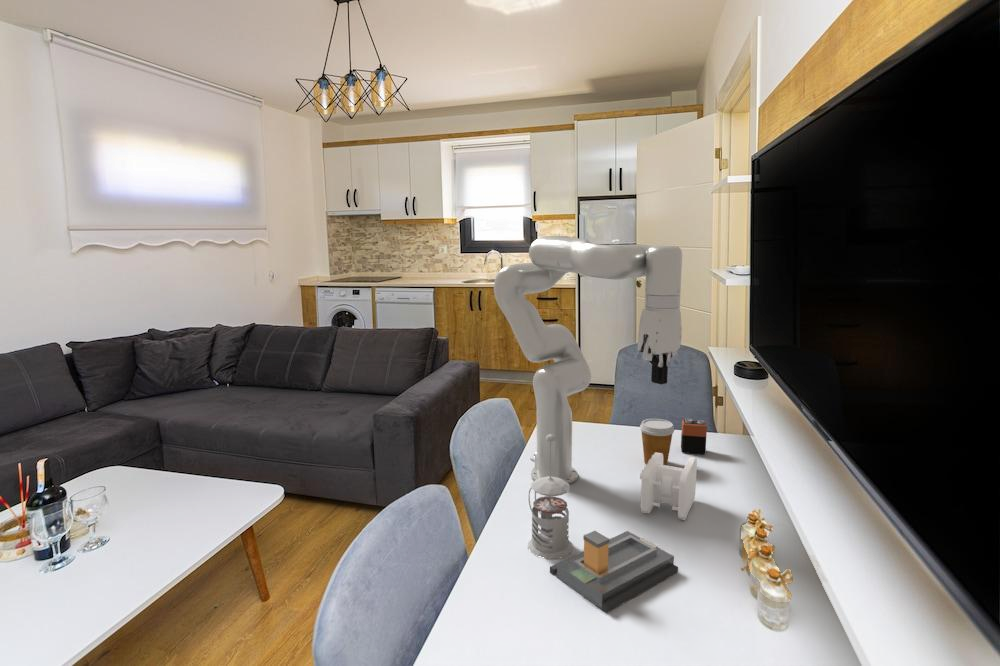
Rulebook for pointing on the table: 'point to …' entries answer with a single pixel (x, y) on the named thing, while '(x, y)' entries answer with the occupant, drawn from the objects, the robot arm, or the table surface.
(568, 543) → the french press
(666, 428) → the disposable coffee cup
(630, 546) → the panel
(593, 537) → the lever
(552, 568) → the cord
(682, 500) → the cable organizer
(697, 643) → the table surface
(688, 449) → the battery
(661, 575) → the dark grey thin bar
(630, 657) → the table surface
